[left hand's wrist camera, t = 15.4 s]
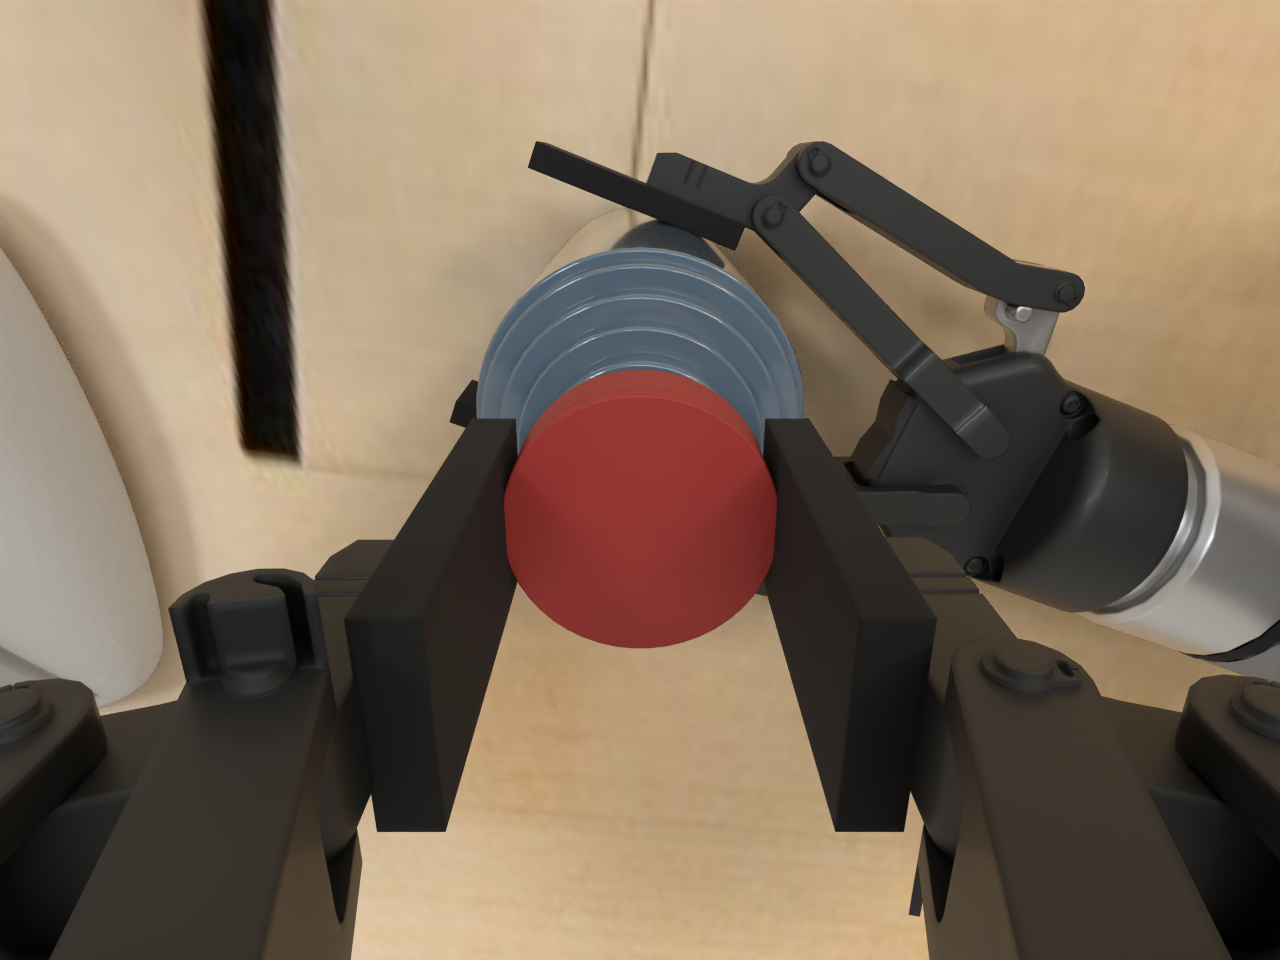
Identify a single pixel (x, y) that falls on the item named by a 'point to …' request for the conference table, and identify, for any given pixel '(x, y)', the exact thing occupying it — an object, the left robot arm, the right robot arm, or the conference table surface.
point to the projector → (64, 524)
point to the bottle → (639, 326)
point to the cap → (640, 510)
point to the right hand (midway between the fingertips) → (498, 284)
